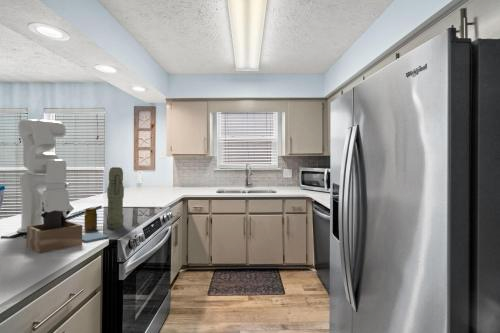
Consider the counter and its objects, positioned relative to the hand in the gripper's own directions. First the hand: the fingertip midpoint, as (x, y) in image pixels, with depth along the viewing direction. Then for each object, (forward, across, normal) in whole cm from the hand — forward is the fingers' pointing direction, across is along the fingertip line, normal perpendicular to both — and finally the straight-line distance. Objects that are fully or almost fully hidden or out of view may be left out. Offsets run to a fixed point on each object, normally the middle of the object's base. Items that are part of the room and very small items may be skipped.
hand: (55, 226), depth 126 cm
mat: (+9, -16, 0) cm, 18 cm away
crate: (+9, 0, 0) cm, 9 cm away
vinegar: (+9, 0, 0) cm, 9 cm away
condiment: (+9, -24, -16) cm, 30 cm away
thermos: (+9, -36, -14) cm, 40 cm away
